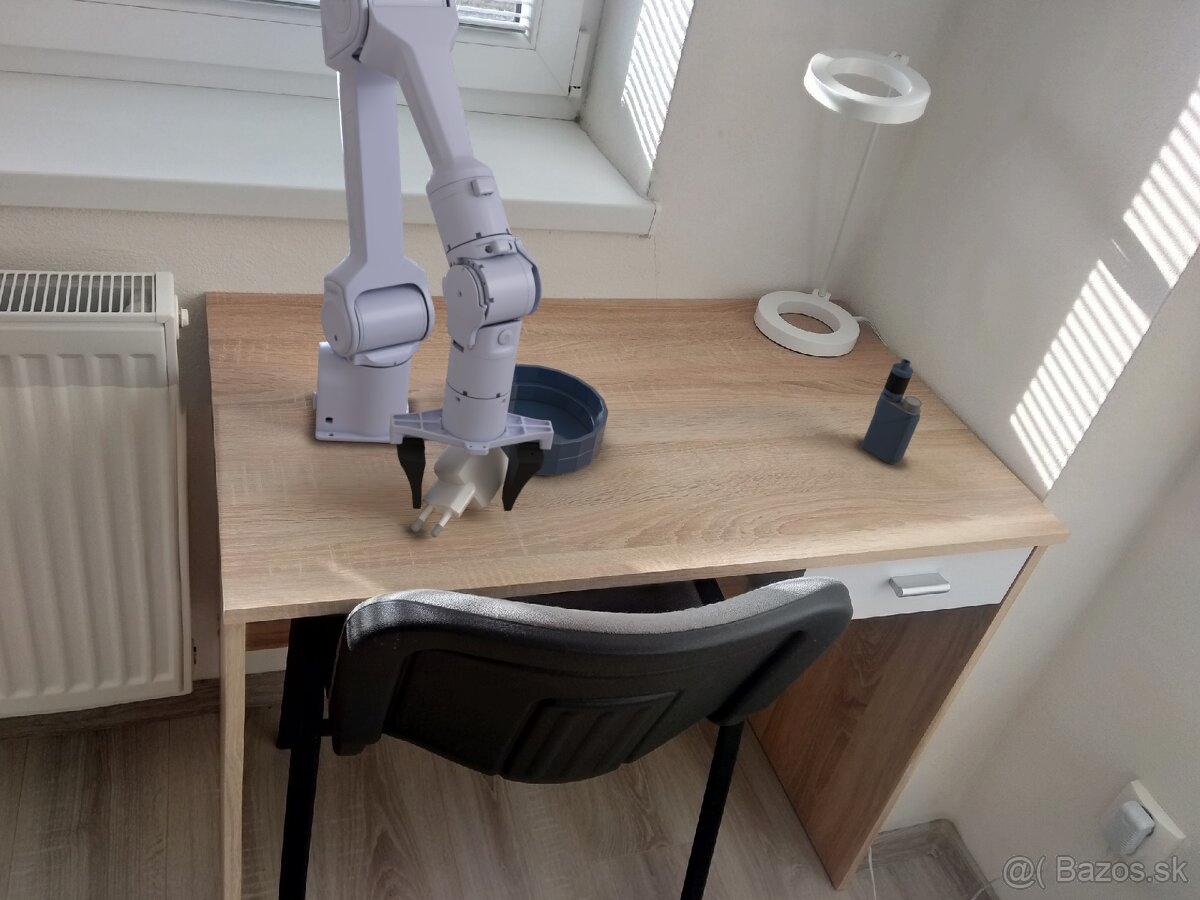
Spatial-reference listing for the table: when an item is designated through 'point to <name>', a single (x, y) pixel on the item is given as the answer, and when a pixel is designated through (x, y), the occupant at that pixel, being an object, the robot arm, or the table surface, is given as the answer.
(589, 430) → the bowl
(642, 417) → the table surface
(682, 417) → the table surface
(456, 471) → the power adapter
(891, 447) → the vaping device
